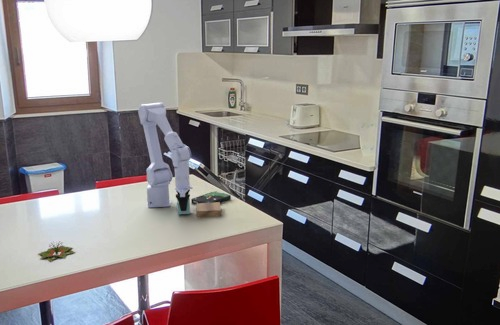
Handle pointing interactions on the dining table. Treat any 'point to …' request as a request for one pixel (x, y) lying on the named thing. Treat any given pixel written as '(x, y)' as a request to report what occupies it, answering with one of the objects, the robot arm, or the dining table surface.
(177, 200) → the teal cube
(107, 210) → the dining table surface
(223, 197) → the disk drive
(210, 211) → the brown block
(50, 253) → the lily flower
